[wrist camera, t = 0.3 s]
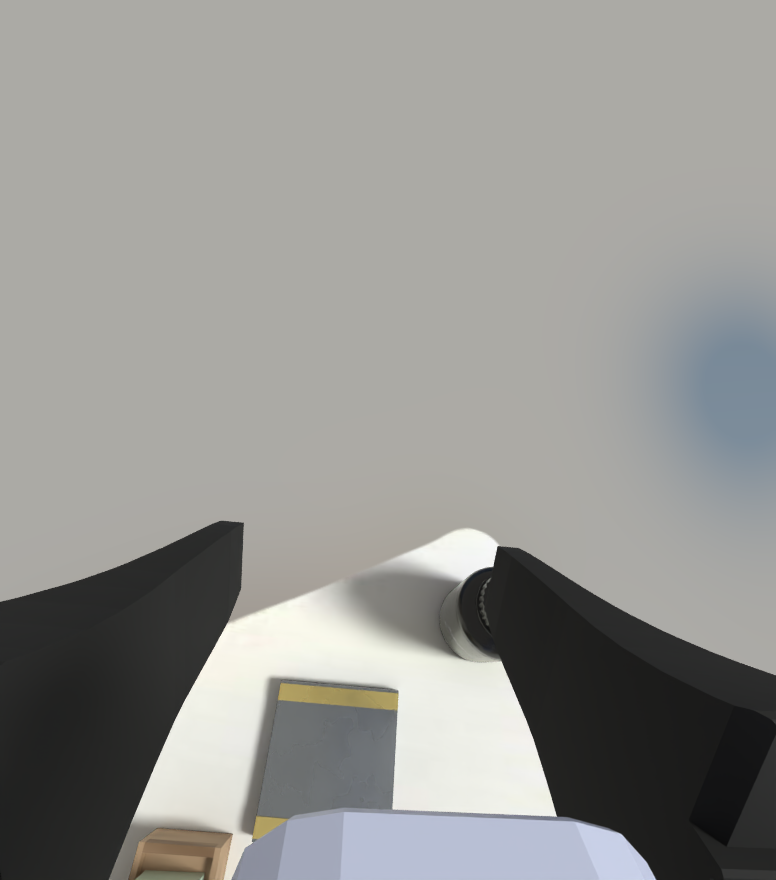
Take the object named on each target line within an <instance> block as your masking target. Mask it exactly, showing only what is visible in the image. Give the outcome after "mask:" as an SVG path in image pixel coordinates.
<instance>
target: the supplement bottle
mask: <svg viewBox="0 0 776 880" xmlns="http://www.w3.org/2000/svg"><path fill="white" fill-rule="evenodd" d="M492 571H493V567H487V568H483V569H480V570H478V571H476V572H474V573H473V574H471V575H470V576H469V577H467V578H466V579H465V580H464V581H463V582H461V583H460V584H459V585H458V586H457V587H455V588H454V589H453V590H452V591H451V592H450V593H449V594H448V595H447V597H446V598H445V600H444V602H443V604H442V607H441V610H440V628H441V632H442V635H443V637H444V639H445V641H446V643H447V644H448V646H449V647H450V648H451V649H452V650H453V651H454V652H455V653H456V654H457V655H459V656H460V657H462V658H464V659H466V660H469V661H472V662H498V661H501V658H500V656H499V653H498V651H497V649H496V646H495V643H494V641H493V637H492V634H491V630H490V627H489V623H488V619H487V615H486V611H485V605H486V600H487V595H488V590H489V586H490V581H491V576H492Z"/></svg>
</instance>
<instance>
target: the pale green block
mask: <svg viewBox="0 0 776 880" xmlns="http://www.w3.org/2000/svg"><path fill="white" fill-rule="evenodd" d="M204 875H205V873H202V872H179V871H152V870H145V871H144V872H143V873H142V874H141V875H140V876H139V877H137V878H136V879H135V880H204Z"/></svg>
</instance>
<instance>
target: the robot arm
mask: <svg viewBox="0 0 776 880" xmlns="http://www.w3.org/2000/svg"><path fill="white" fill-rule="evenodd" d="M243 527H244V523H239V522H229V521H219V522H217V523H214V524H211V525H209V526H207V527H205V528H203V529H201V530H199V531H196V532H195V533H192V534H190V535H188V536H186V537H184V538H182V539H180V540H178V541H176V542H174V543H171V544H169V545H167V546H165V547H163V548H161V549H158V550H156V551H154V552H152V553H149V554H147V555H145V556H142V557H140V558H138V559H135V560H133V561H131V562H129V563H126V564H124V565H121V566H119V567H116V568H114V569H111V570H108V571H105V572H102V573H99V574H97V575H94V576H91V577H88V578H85V579H82V580H79V581H76V582H73V583H69V584H66V585H62V586H59V587H55V588H51V589H48V590H44V591H40V592H37V593H34V594H30V595H26V596H22V597H19V598H15V599H11V600H6V601H2V602H0V880H109V877H110V875H111V872H112V870H113V867H114V864H115V862H116V859H117V857H118V854H119V852H120V849H121V847H122V844H123V842H124V839H125V837H126V834H127V832H128V829H129V827H130V824H131V822H132V819H133V817H134V814H135V812H136V810H137V807H138V805H139V803H140V800H141V798H142V795H143V793H144V791H145V788H146V786H147V783H148V781H149V779H150V776H151V774H152V771H153V769H154V767H155V764H156V762H157V760H158V757H159V755H160V753H161V751H162V748H163V746H164V744H165V741H166V739H167V737H168V735H169V732H170V730H171V728H172V725H173V723H174V721H175V719H176V717H177V715H178V713H179V711H180V709H181V707H182V705H183V703H184V701H185V699H186V697H187V695H188V694H189V692H190V690H191V688H192V686H193V685H194V683H195V681H196V679H197V677H198V675H199V674H200V672H201V670H202V668H203V666H204V665H205V663H206V661H207V659H208V657H209V656H210V654H211V652H212V650H213V648H214V647H215V645H216V643H217V641H218V639H219V637H220V636H221V634H222V632H223V630H224V628H225V626H226V624H227V623H228V620H229V618H230V616H231V613H232V611H233V608H234V606H235V603H236V600H237V598H238V595H239V592H240V590H241V576H242V551H243ZM485 611H486V615H487V619H488V623H489V627H490V630H491V634H492V637H493V641H494V643H495V646H496V649H497V651H498V653H499V656H500V658H501V661H502V663H503V666H504V668H505V671H506V673H507V675H508V678H509V680H510V682H511V685H512V687H513V690H514V692H515V694H516V697H517V699H518V701H519V704H520V706H521V709H522V711H523V713H524V716H525V718H526V720H527V723H528V726H529V728H530V731H531V734H532V736H533V739H534V742H535V745H536V748H537V752H538V755H539V758H540V761H541V764H542V768H543V771H544V774H545V777H546V780H547V784H548V787H549V790H550V794H551V797H552V801H553V804H554V808H555V811H556V815H557V817H550V816H527V815H504V814H480V813H457V812H434V811H410V810H387V809H363V808H338V809H332V810H325V811H319V812H312V813H306V814H299V815H294V816H293V817H291V818H290V819H288V820H287V821H285V822H283V823H282V824H280V825H279V826H277V827H276V828H274V829H273V830H271V831H270V832H268V833H267V834H265V835H264V836H262V837H261V838H259V839H257V840H256V841H255V842H253V843H252V844H251V845H249V846H248V847H246V848H245V850H244V852H243V854H242V856H241V859H240V861H239V863H238V866H237V868H236V870H235V873H234V875H233V877H232V880H776V675H773V674H770V673H767V672H764V671H762V670H759V669H756V668H753V667H750V666H747V665H745V664H742V663H739V662H736V661H733V660H731V659H728V658H726V657H723V656H721V655H718V654H715V653H713V652H710V651H708V650H706V649H703V648H701V647H698V646H696V645H694V644H691V643H689V642H686V641H684V640H682V639H680V638H677V637H675V636H673V635H671V634H668V633H666V632H664V631H662V630H660V629H657V628H656V627H654V626H651V625H649V624H648V623H646V622H644V621H642V620H640V619H637V618H636V617H634V616H631V615H630V614H628V613H626V612H624V611H622V610H620V609H619V608H617V607H615V606H613V605H611V604H610V603H608V602H606V601H605V600H603V599H601V598H599V597H598V596H596V595H594V594H593V593H591V592H589V591H588V590H586V589H584V588H583V587H581V586H580V585H578V584H576V583H575V582H573V581H572V580H570V579H568V578H567V577H565V576H564V575H562V574H561V573H559V572H558V571H556V570H554V569H553V568H551V567H550V566H548V565H546V564H545V563H543V562H542V561H540V560H539V559H537V558H536V557H534V556H532V555H531V554H529V553H527V552H525V551H523V550H521V549H519V548H511V547H501V546H498V547H497V552H496V556H495V561H494V566H493V571H492V576H491V581H490V586H489V590H488V595H487V600H486V605H485Z"/></svg>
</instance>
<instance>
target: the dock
mask: <svg viewBox="0 0 776 880" xmlns="http://www.w3.org/2000/svg"><path fill="white" fill-rule="evenodd" d="M397 710H398V690H390V689H378V688H367V687H356V686H344V685H333V684H322V683H310V682H299V681H288V680H282V681H281V685H280V690H279V696H278V702H277V708H276V713H275V719H274V724H273V730H272V735H271V740H270V746H269V751H268V757H267V762H266V768H265V773H264V779H263V784H262V789H261V795H260V800H259V806H258V811H257V816H256V821H255V826H254V832H253V837H252V842H255V841H256V840H257V839H259V838H261V837H262V836H264V835H265V834H267V833H268V832H270V831H271V830H273V829H274V828H276V827H277V826H279V825H280V824H282V823H283V822H285V821H287V820H288V819H290V818H291V817H293V816H294V815H299V814H306V813H312V812H319V811H325V810H332V809H338V808H363V809H387V810H392V803H393V784H394V765H395V746H396V727H397Z"/></svg>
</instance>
